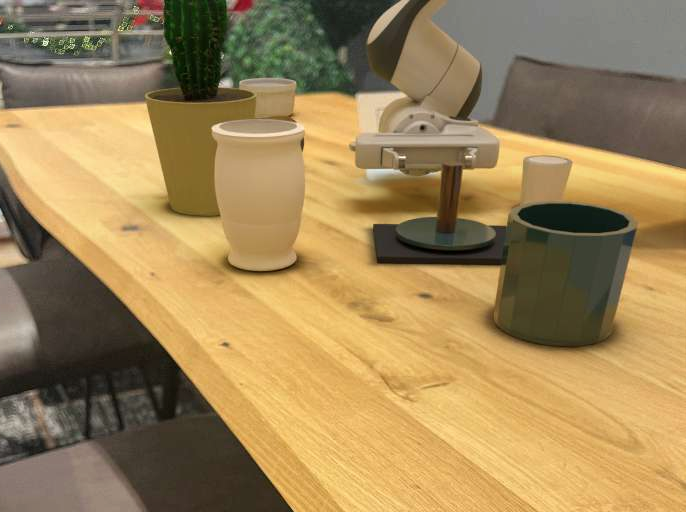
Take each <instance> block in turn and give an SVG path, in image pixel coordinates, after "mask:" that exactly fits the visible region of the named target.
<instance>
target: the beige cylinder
mask: <svg viewBox="0 0 686 512" xmlns="http://www.w3.org/2000/svg"><path fill="white" fill-rule="evenodd" d="M573 163H574V161H573V160H571V159H569V158H568V157H564V156H563V157H562V156H557V155H546V154H545V155H544V154H542V155H529V156H525V157H524V158H523V159H522V173H521V186H520V187H521V190H520V202H519V206H520V205H524V204H527V203H535V202H544V201H563V198H564V195H565V192H566V188H567V185H568V181H569V177H570V175H571V170H572V166H573Z"/></svg>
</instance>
